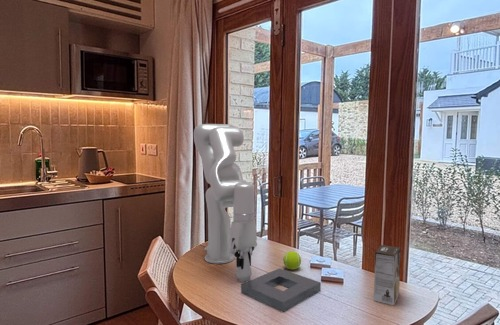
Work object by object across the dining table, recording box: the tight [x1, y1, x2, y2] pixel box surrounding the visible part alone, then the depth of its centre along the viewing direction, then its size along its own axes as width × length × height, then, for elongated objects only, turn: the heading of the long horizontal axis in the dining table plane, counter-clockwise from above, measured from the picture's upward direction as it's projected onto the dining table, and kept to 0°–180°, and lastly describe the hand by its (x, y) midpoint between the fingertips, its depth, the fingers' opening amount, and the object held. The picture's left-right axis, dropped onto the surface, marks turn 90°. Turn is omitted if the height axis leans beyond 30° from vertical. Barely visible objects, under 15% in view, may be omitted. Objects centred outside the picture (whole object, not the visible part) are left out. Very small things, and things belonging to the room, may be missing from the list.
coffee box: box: [373, 244, 402, 306], centre depth 111 cm, size 9×6×16 cm
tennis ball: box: [282, 250, 302, 271], centre depth 136 cm, size 7×7×7 cm
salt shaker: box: [235, 248, 252, 283], centre depth 125 cm, size 6×6×13 cm
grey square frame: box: [240, 268, 322, 313], centre depth 115 cm, size 18×20×3 cm
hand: (243, 266), depth 125 cm, fingers closed on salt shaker, 3 cm apart
